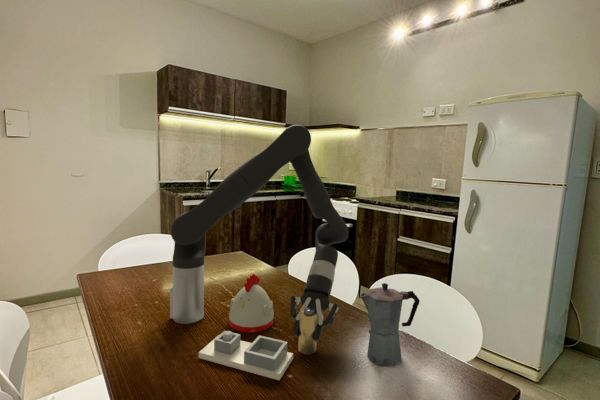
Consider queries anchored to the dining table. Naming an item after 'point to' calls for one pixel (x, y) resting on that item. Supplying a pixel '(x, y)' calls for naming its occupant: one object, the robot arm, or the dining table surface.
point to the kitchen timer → (251, 308)
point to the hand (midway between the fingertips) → (305, 338)
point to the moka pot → (386, 323)
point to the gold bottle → (307, 331)
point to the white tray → (249, 354)
